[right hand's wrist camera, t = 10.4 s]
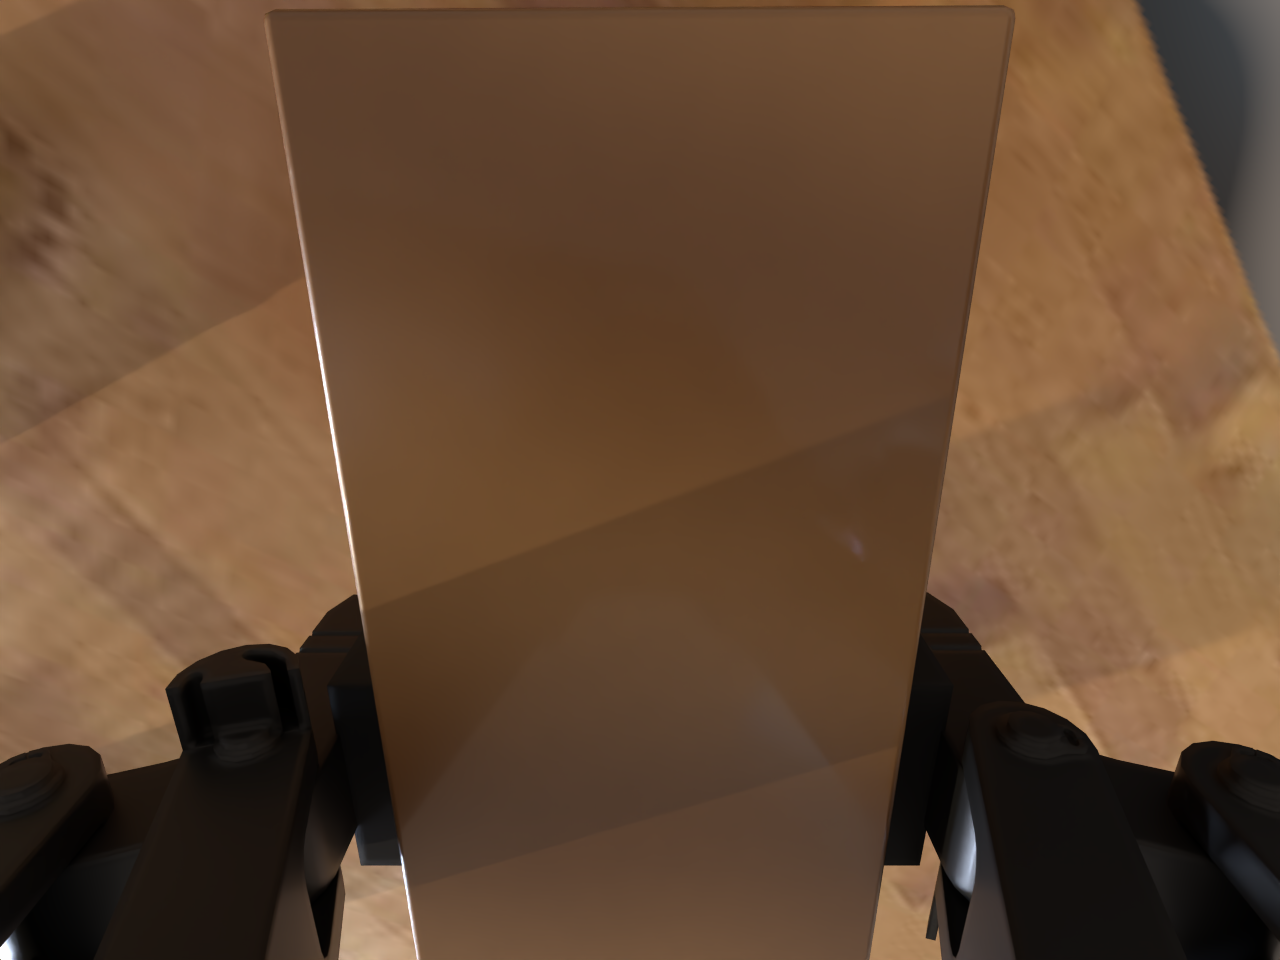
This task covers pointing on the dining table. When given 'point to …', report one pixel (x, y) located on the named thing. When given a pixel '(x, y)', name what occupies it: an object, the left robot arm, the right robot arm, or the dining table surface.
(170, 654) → the dining table surface
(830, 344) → the post
